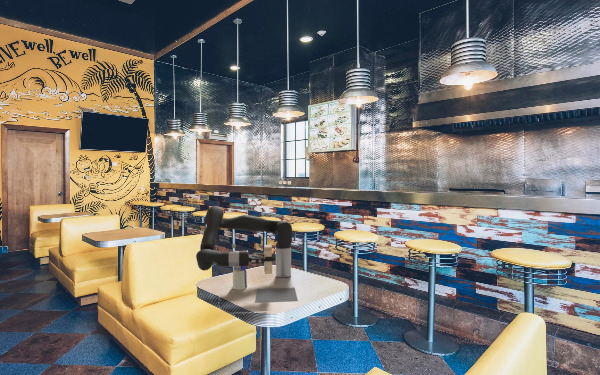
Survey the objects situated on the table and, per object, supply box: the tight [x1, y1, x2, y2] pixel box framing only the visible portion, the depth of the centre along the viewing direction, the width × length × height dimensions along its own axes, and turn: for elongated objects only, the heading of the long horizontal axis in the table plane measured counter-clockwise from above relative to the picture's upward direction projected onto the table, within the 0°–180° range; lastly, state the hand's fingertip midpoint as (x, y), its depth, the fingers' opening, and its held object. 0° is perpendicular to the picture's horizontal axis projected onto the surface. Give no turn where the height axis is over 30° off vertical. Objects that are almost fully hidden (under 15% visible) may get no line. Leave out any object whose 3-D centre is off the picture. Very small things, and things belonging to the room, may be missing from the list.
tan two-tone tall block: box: [263, 244, 273, 275], centre depth 163 cm, size 6×4×13 cm, turn 5°
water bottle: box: [231, 242, 248, 291], centre depth 177 cm, size 8×9×25 cm
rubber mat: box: [254, 287, 299, 304], centre depth 165 cm, size 21×20×1 cm
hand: (273, 257), depth 164 cm, fingers closed on tan two-tone tall block, 6 cm apart
